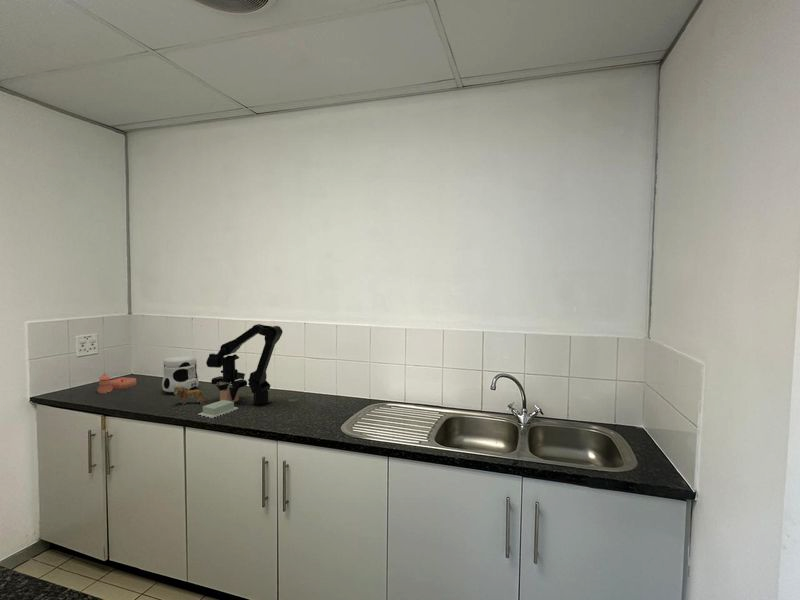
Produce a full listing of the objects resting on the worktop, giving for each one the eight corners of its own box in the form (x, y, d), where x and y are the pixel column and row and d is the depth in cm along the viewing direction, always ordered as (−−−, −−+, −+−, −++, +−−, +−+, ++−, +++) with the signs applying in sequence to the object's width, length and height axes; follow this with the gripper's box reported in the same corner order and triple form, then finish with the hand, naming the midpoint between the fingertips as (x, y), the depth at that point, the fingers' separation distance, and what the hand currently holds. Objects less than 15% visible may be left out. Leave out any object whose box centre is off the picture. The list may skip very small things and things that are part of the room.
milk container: (164, 388, 217) (163, 356, 216) (199, 385, 224) (198, 354, 223) (160, 397, 201) (159, 362, 200) (198, 393, 208) (197, 359, 207)
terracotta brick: (238, 400, 196) (238, 388, 196) (227, 404, 190) (227, 392, 190) (231, 399, 198) (231, 387, 198) (219, 402, 192) (219, 390, 192)
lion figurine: (172, 406, 187) (172, 387, 186) (175, 403, 192) (174, 385, 191) (206, 403, 191) (206, 385, 191) (208, 400, 196) (208, 382, 196)
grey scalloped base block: (238, 409, 183) (238, 401, 183) (212, 418, 171) (212, 410, 171) (224, 406, 187) (224, 398, 187) (198, 415, 175) (198, 407, 174)
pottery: (122, 384, 225) (122, 367, 225) (136, 385, 223) (135, 368, 223) (91, 393, 208) (91, 374, 207) (106, 394, 206) (106, 376, 205)
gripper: (255, 366, 197) (255, 397, 197) (228, 363, 205) (229, 392, 205) (237, 371, 187) (238, 403, 187) (210, 367, 194) (210, 398, 195)
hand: (229, 399), depth 194 cm, fingers closed on terracotta brick, 5 cm apart
